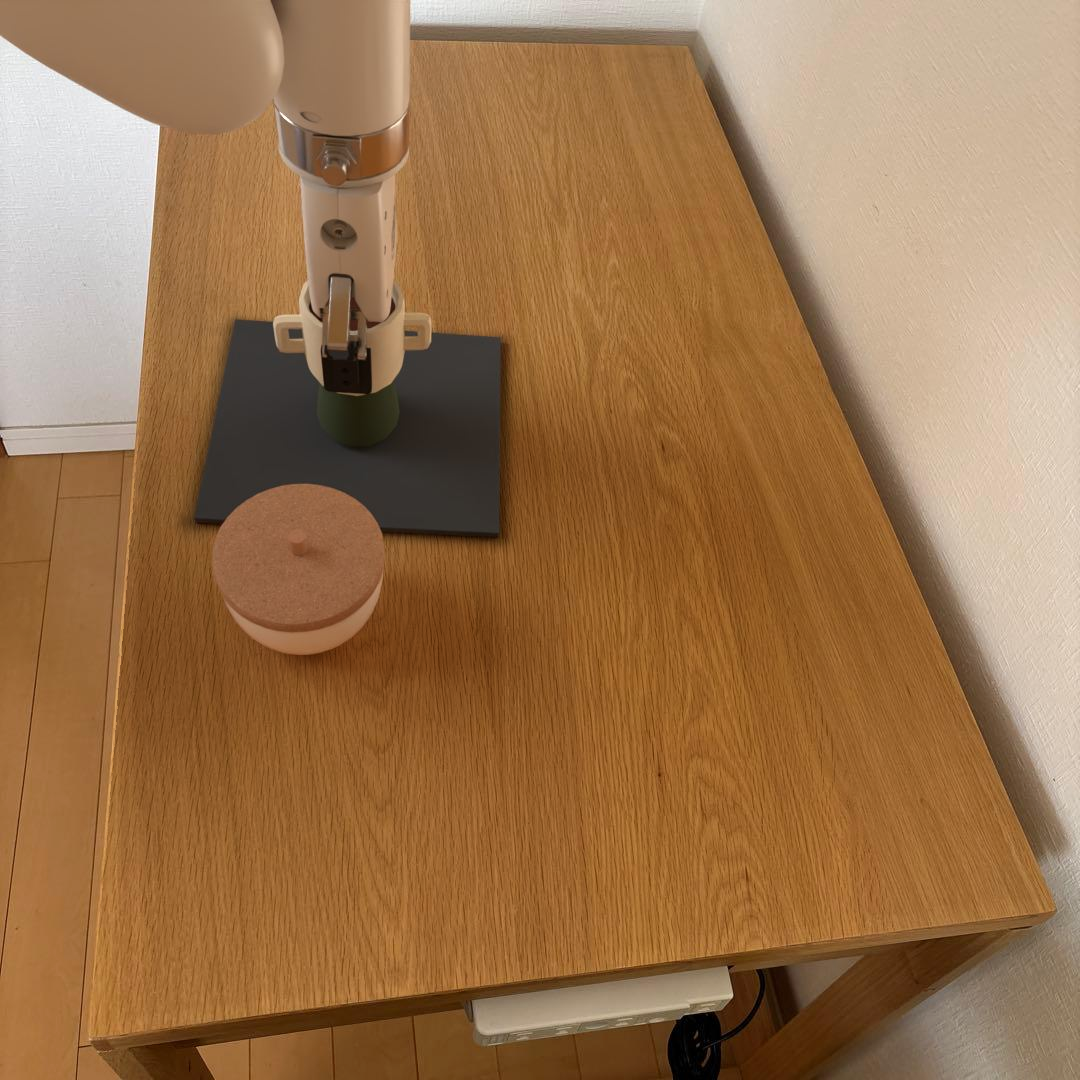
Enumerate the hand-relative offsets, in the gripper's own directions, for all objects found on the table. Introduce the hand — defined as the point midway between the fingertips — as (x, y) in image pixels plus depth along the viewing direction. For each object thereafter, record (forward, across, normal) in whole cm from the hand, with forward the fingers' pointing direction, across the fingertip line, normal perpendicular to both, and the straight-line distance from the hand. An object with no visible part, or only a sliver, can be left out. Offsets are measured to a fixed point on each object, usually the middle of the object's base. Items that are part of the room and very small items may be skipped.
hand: (354, 338), depth 73 cm
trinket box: (+10, -17, +2) cm, 20 cm away
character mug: (+9, 0, 0) cm, 9 cm away
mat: (+10, 0, 0) cm, 10 cm away
